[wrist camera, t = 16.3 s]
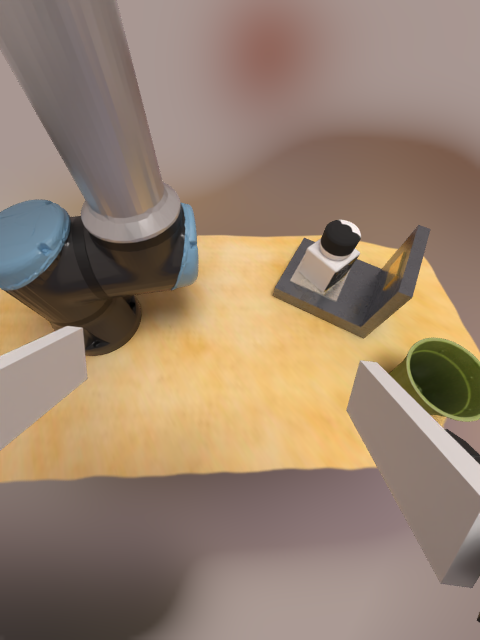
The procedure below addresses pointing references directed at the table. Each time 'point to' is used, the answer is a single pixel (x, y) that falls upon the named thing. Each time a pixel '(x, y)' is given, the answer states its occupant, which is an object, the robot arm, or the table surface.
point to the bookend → (357, 287)
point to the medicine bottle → (331, 255)
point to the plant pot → (441, 379)
